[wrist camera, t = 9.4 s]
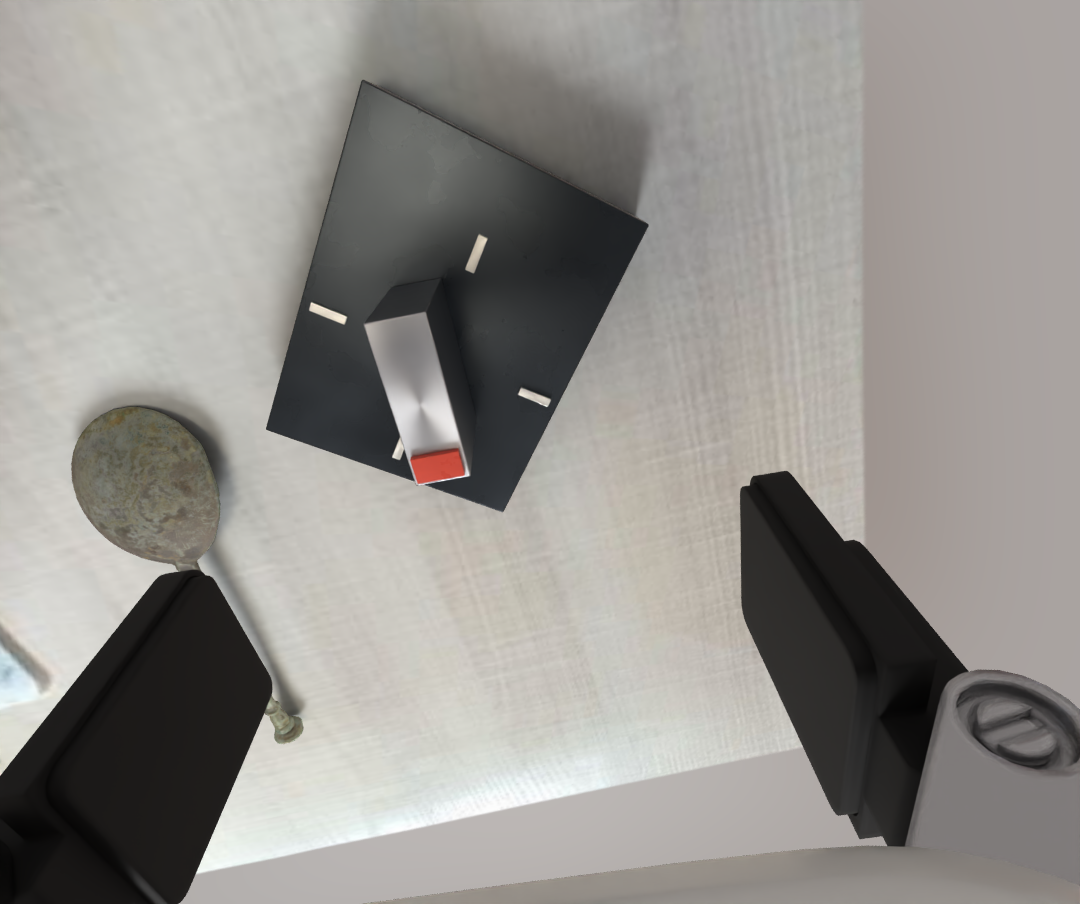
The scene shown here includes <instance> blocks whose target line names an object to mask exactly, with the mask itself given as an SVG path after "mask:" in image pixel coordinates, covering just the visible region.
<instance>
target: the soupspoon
mask: <svg viewBox="0 0 1080 904" xmlns="http://www.w3.org/2000/svg"><path fill="white" fill-rule="evenodd" d="M71 465H72V468H71V470H72V482H73V486H74V490H75V493H76V496H77V500H78V502H79V504H80V506H81V508H82V510H83V512H84V513H85V515H86V516H87V518H88V519H89V520H90V522H91V523H92V524H93V526H94V527H95V528H96V529H97V530H98V531H99V532H100V533H101V534H102V535H103V536H104V537H105V538H107V539H108V540H109V541H110V542H112V543H113V544H114V545H116V546H118V547H119V548H121V549H123V550H125V551H127V552H129V553H132V554H134V555H136V556H139V557H141V558H144V559H148V560H152V561H156V562H161V563H168V564H173V565H175V566H176V569H177V570H178V571H179V572H180V571H186V570H192V569H196V570H200V567H199V565H198V563H197V560H198V559H199V558H200V557H201V556H202V555H203V554H204V553H205V552H206V551H207V550H208V549H209V548H210V546H211V545H212V543H213V541H214V539H215V536H216V531H217V527H218V522H219V518H220V500H219V490H218V487H217V486H218V485H217V483H216V482H215V477H214V475H213V472H212V469H211V467H210V464H209V462H208V458H207V456H206V454H205V450H204V449H203V447H202V446H201V443H200V442H199V441H197V439H196V438H195V437H194V436H193V435H192V434H191V433H190V432H188V431H187V430H186V428H184V427H183V426H182V425H181V424H180V423H179V422H178V421H175V420H174V419H172V418H171V417H169V416H168V415H165V414H163V413H159V412H157V411H154V410H151V409H146V408H141V407H126V408H121V409H114V410H111V411H110V412H107V413H106V414H104V415H101V416H100V417H98V418H97V419H95V420H94V421H93V422H91V423H90V424H89V425H88V426H87V427H86V429H85V430H84V431H83V432H82V434H81V436H80V437H79V439H78V441H77V443H76V445H75V449H74V452H73V457H72V463H71ZM200 571H201V570H200ZM201 572H202V571H201ZM280 707H281V705H280V703H279V702H278V701H275V700H274V699H273V697H272V695H271V698H270V701H269V703H268V706H267V708H266V710H265V714H266V715H268V716H270V720H271V722H272V723H273V725H274V727H275V734H274V738H275V741H276V742H277V743H279V744H286V743H290V742H293V741H295V740H296V739H297V738H298V737H299V736H300V735H301V734H302V731H303V723H302V719H301V718H299V717H296V716H289V715H287V714H286V712H285V711H284V710H283V709H281V708H280Z"/></svg>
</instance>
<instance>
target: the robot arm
mask: <svg viewBox="0 0 1080 904" xmlns="http://www.w3.org/2000/svg"><path fill="white" fill-rule="evenodd" d="M740 517H741V599H742V610H743V615H744V619H745V622H746V624H747V627H748V629H749V631H750V633H751V635H752V638H753V640H754V642H755V644H756V646H757V648H758V650H759V653H760V655H761V657H762V659H763V661H764V663H765V666H766V668H767V670H768V672H769V674H770V676H771V679H772V681H773V683H774V685H775V687H776V689H777V691H778V694H779V696H780V698H781V700H782V702H783V704H784V707H785V709H786V711H787V713H788V715H789V717H790V720H791V722H792V724H793V726H794V728H795V730H796V732H797V735H798V737H799V739H800V741H801V743H802V745H803V748H804V750H805V752H806V754H807V756H808V758H809V761H810V762H811V765H812V767H813V769H814V771H815V774H816V775H817V778H818V780H819V782H820V784H821V786H822V789H823V791H824V793H825V795H826V797H827V799H828V802H829V804H830V805H831V807H832V809H833V811H834V812H835V813H836V814H837V815H838V816H839V815H846V814H848V816H849V818H850V820H851V822H852V824H853V826H854V829H855V831H856V833H857V835H858V837H859V839H864V838H872V837H879V836H883V838H884V840H885V842H886V844H887V846H855V847H838V848H819V849H802V850H792V851H783V852H774V853H765V854H756V855H746V856H737V857H729V858H720V859H709V860H700V861H691V862H682V863H673V864H666V865H658V866H651V867H643V868H634V869H626V870H619V871H611V872H604V873H595V874H587V875H579V876H571V877H564V878H556V879H548V880H540V881H532V882H524V883H516V884H509V885H501V886H493V887H485V888H478V889H471V890H463V891H455V892H448V893H440V894H432V895H425V896H417V897H410V898H403V899H395V900H387V901H380V902H373V903H365V904H1080V709H1079V708H1077V707H1076V706H1075V705H1074V704H1073V703H1072V702H1071V701H1070V700H1069V699H1067V698H1066V697H1064V696H1062V695H1061V694H1059V693H1058V692H1056V691H1054V690H1053V689H1051V688H1050V687H1048V686H1046V685H1044V684H1041V683H1039V682H1037V681H1034V680H1032V679H1029V678H1027V677H1025V676H1022V675H1018V674H1013V673H1009V672H1004V671H1000V670H975V671H970V672H969V671H968V670H967V669H966V668H965V667H964V666H963V664H962V663H961V662H960V661H959V659H958V658H957V657H956V656H955V655H954V653H952V651H951V650H950V649H949V647H948V646H947V645H946V644H945V643H944V641H943V640H942V639H941V638H940V636H938V634H937V633H936V632H935V630H934V629H933V628H932V627H931V626H930V624H929V623H928V622H927V621H926V620H925V618H924V617H923V616H922V615H921V614H920V612H919V611H918V610H917V609H916V608H915V606H914V605H913V604H912V603H911V602H910V600H909V599H908V598H907V597H906V596H905V594H904V593H903V592H902V591H901V590H900V588H899V587H898V586H897V585H896V584H895V582H894V581H893V580H892V579H891V577H890V576H889V575H888V574H887V573H886V572H885V570H884V569H883V568H882V567H881V565H880V564H879V563H878V562H877V561H876V559H875V558H874V557H873V556H872V555H871V553H870V552H869V551H868V550H867V549H866V548H865V547H864V546H863V545H862V544H861V543H860V542H858V541H855V540H850V541H844V540H843V539H842V538H841V537H840V535H839V534H838V533H837V531H836V530H835V529H834V528H833V526H832V525H831V524H830V523H829V521H828V520H827V519H826V518H825V516H824V515H823V514H822V512H821V511H820V510H819V509H818V507H817V506H816V505H815V504H814V502H813V501H812V500H811V499H810V497H809V496H808V495H807V494H806V492H805V491H804V490H803V488H802V487H801V486H800V485H799V483H798V482H797V481H796V480H795V478H794V477H793V476H792V475H791V474H790V473H789V472H788V471H782V472H776V473H770V474H764V475H758V476H753V477H752V478H751V481H750V486H744V487H742V488H741V491H740ZM271 695H272V680H271V677H270V675H269V673H268V672H267V670H266V668H265V666H264V665H263V663H262V661H261V659H260V658H259V656H258V654H257V653H256V651H255V649H254V647H253V646H252V644H251V642H250V640H249V639H248V637H247V635H246V634H245V632H244V630H243V628H242V627H241V625H240V623H239V621H238V620H237V618H236V616H235V614H234V613H233V611H232V609H231V608H230V606H229V604H228V602H227V601H226V599H225V597H224V595H223V594H222V592H221V590H220V589H219V587H218V585H217V583H216V582H215V580H214V579H213V578H212V577H210V576H206V575H205V574H204V573H203V572H201V571H200V570H196V569H192V570H186V571H180V572H174V573H168V574H164V575H161V576H159V577H158V578H157V579H156V580H155V581H154V582H153V584H152V585H151V586H150V587H149V589H148V590H147V591H146V592H145V594H144V595H143V596H142V598H141V599H140V600H139V601H138V603H137V604H136V605H135V606H134V608H133V609H132V610H131V611H130V613H129V614H128V615H127V616H126V618H125V619H124V620H123V622H122V623H121V624H120V625H119V627H118V628H117V629H116V630H115V632H114V633H113V634H112V635H111V637H110V638H109V639H108V640H107V642H106V643H105V644H104V646H103V647H102V648H101V649H100V651H99V652H98V653H97V654H96V656H95V657H94V658H93V659H92V661H91V662H90V663H89V664H88V666H87V667H86V668H85V670H84V671H83V672H82V673H81V675H80V676H79V677H78V678H77V680H76V681H75V682H74V683H73V685H72V686H71V687H70V688H69V690H68V691H67V692H66V694H65V695H64V696H63V697H62V699H61V700H60V701H59V702H58V704H57V705H56V706H55V707H54V709H53V710H52V711H51V712H50V714H49V715H48V716H47V718H46V719H45V720H44V721H43V723H42V724H41V725H40V726H39V728H38V729H37V730H36V731H35V733H34V734H33V735H32V736H31V738H30V739H29V740H28V742H27V743H26V744H25V745H24V747H23V748H22V749H21V750H20V752H19V753H18V754H17V755H16V757H15V758H14V759H13V760H12V762H11V763H10V764H9V766H8V767H7V768H6V769H5V771H4V772H3V773H2V774H1V776H0V904H178V903H180V902H181V901H182V900H183V899H184V897H185V896H186V894H187V892H188V890H189V888H190V886H191V883H192V881H193V879H194V876H195V874H196V872H197V869H198V867H199V865H200V862H201V860H202V858H203V855H204V853H205V851H206V848H207V846H208V844H209V841H210V839H211V837H212V834H213V832H214V830H215V827H216V825H217V823H218V820H219V818H220V816H221V813H222V811H223V809H224V806H225V804H226V802H227V799H228V797H229V795H230V792H231V790H232V787H233V785H234V783H235V780H236V778H237V776H238V773H239V771H240V769H241V766H242V764H243V762H244V759H245V757H246V755H247V752H248V750H249V748H250V745H251V743H252V741H253V738H254V736H255V734H256V731H257V729H258V727H259V724H260V722H261V720H262V717H263V715H264V713H265V710H266V708H267V706H268V703H269V701H270V698H271Z"/></svg>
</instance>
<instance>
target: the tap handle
mask: <svg viewBox="0 0 1080 904" xmlns="http://www.w3.org/2000/svg"><path fill="white" fill-rule="evenodd" d="M364 328H365V331H366V334H367V337H368V340H369V343H370V346H371V349H372V352H373V355H374V359H375V362H376V365H377V368H378V371H379V374H380V377H381V380H382V383H383V386H384V389H385V392H386V395H387V398H388V401H389V404H390V407H391V410H392V413H393V416H394V420H395V423H396V426H397V429H398V432H399V435H400V438H401V441H402V444H403V447H404V450H405V453H406V456H407V459H408V462H409V465H410V468H411V471H412V474H413V477H414V481H415V484H416V486H418V485H424V484H429V483H435V482H440V481H446V480H451V479H457V478H462V477H468V476H470V475H471V466H472V456H473V447H474V437H475V427H476V418H477V417H476V413H475V409H474V405H473V401H472V397H471V393H470V389H469V385H468V381H467V378H466V374H465V370H464V366H463V362H462V358H461V354H460V350H459V346H458V342H457V338H456V334H455V330H454V326H453V322H452V319H451V315H450V311H449V307H448V303H447V299H446V295H445V291H444V287H443V283H442V279H441V278H438V279H433V280H428V281H423V282H418V283H413V284H408V285H403V286H397V287H392V288H390V290H389V291H388V292H387V294H386V295H385V296H384V298H383V299H382V300H381V302H380V303H379V304H378V306H377V307H376V308H375V310H374V311H373V312H372V313H371V315H370V316H369V317H368V319H367V320H366V321H365V323H364Z"/></svg>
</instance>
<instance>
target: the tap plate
mask: <svg viewBox="0 0 1080 904" xmlns="http://www.w3.org/2000/svg"><path fill="white" fill-rule="evenodd" d="M647 228H648V224H647V223H646V222H644V221H642V220H641V219H639V218H637V217H636V216H634V215H632V214H630V213H628V212H626V211H624V210H622V209H620V208H618V207H616V206H614V205H612V204H610V203H608V202H606V201H604V200H602V199H600V198H598V197H596V196H594V195H592V194H590V193H589V192H587V191H585V190H583V189H581V188H579V187H577V186H575V185H573V184H571V183H569V182H567V181H565V180H563V179H561V178H559V177H557V176H555V175H553V174H551V173H549V172H547V171H545V170H543V169H541V168H539V167H537V166H535V165H533V164H531V163H529V162H527V161H525V160H523V159H521V158H519V157H517V156H516V155H514V154H512V153H510V152H508V151H506V150H504V149H502V148H500V147H498V146H496V145H494V144H492V143H490V142H488V141H486V140H484V139H482V138H480V137H478V136H476V135H474V134H472V133H470V132H468V131H466V130H464V129H462V128H460V127H458V126H456V125H454V124H452V123H450V122H448V121H446V120H444V119H442V118H441V117H439V116H437V115H435V114H433V113H431V112H429V111H427V110H425V109H423V108H421V107H419V106H417V105H415V104H413V103H411V102H409V101H407V100H405V99H403V98H401V97H399V96H397V95H395V94H393V93H391V92H389V91H387V90H385V89H383V88H381V87H379V86H377V85H375V84H372V83H370V82H367V81H365V80H362V81H361V85H360V89H359V92H358V96H357V99H356V103H355V107H354V110H353V114H352V118H351V121H350V125H349V129H348V132H347V136H346V139H345V143H344V147H343V150H342V154H341V158H340V161H339V165H338V169H337V172H336V176H335V179H334V183H333V187H332V190H331V194H330V198H329V201H328V205H327V209H326V212H325V216H324V219H323V223H322V227H321V230H320V234H319V238H318V241H317V245H316V249H315V252H314V256H313V260H312V263H311V267H310V270H309V274H308V278H307V281H306V285H305V289H304V292H303V296H302V300H301V303H300V307H299V310H298V314H297V318H296V321H295V325H294V329H293V332H292V336H291V340H290V343H289V347H288V350H287V354H286V358H285V361H284V365H283V369H282V372H281V376H280V380H279V383H278V387H277V390H276V394H275V398H274V401H273V405H272V409H271V412H270V416H269V420H268V423H267V427H266V430H269V431H271V432H274V433H277V434H280V435H283V436H286V437H289V438H291V439H294V440H297V441H300V442H303V443H306V444H309V445H312V446H314V447H317V448H320V449H323V450H326V451H329V452H332V453H334V454H337V455H340V456H343V457H346V458H349V459H352V460H354V461H357V462H360V463H363V464H366V465H369V466H372V467H375V468H377V469H380V470H383V471H386V472H389V473H392V474H395V475H397V476H400V477H403V478H406V479H409V480H412V481H414V477H413V474H412V471H411V468H410V465H409V462H408V459H407V456H406V453H405V450H404V447H403V444H402V441H401V438H400V435H399V432H398V429H397V426H396V423H395V420H394V416H393V413H392V410H391V407H390V404H389V401H388V398H387V395H386V392H385V389H384V386H383V383H382V380H381V377H380V374H379V371H378V368H377V365H376V362H375V359H374V355H373V352H372V349H371V346H370V343H369V340H368V337H367V334H366V331H365V328H364V323H365V321H366V320H367V319H368V317H369V316H370V315H371V313H372V312H373V311H374V310H375V308H376V307H377V306H378V304H379V303H380V302H381V300H382V299H383V298H384V296H385V295H386V294H387V292H388V291H389V290H390V288H392V287H397V286H403V285H408V284H413V283H418V282H423V281H428V280H433V279H438V278H441V279H442V283H443V287H444V291H445V295H446V299H447V303H448V307H449V311H450V315H451V319H452V322H453V326H454V330H455V334H456V338H457V342H458V346H459V350H460V354H461V358H462V362H463V366H464V370H465V374H466V378H467V381H468V385H469V389H470V393H471V397H472V401H473V405H474V409H475V413H476V417H477V418H476V427H475V437H474V447H473V456H472V466H471V475H470V476H468V477H462V478H457V479H451V480H446V481H440V482H435V483H429V484H424V485H426V486H429V487H432V488H435V489H438V490H440V491H443V492H446V493H449V494H452V495H455V496H458V497H460V498H463V499H466V500H469V501H472V502H475V503H478V504H481V505H483V506H486V507H489V508H492V509H495V510H498V511H501V512H503V511H504V510H505V508H506V506H507V504H508V502H509V500H510V498H511V496H512V494H513V492H514V490H515V488H516V486H517V484H518V482H519V480H520V478H521V476H522V474H523V472H524V470H525V468H526V466H527V464H528V462H529V460H530V458H531V456H532V454H533V452H534V450H535V449H536V447H537V445H538V443H539V441H540V439H541V437H542V435H543V433H544V431H545V429H546V427H547V425H548V423H549V421H550V419H551V417H552V415H553V413H554V411H555V409H556V407H557V405H558V403H559V401H560V399H561V397H562V395H563V393H564V391H565V389H566V387H567V385H568V383H569V381H570V380H571V378H572V376H573V374H574V372H575V370H576V368H577V366H578V364H579V362H580V360H581V358H582V356H583V354H584V352H585V350H586V348H587V346H588V344H589V342H590V340H591V338H592V336H593V334H594V332H595V330H596V328H597V326H598V324H599V322H600V320H601V318H602V316H603V314H604V313H605V311H606V309H607V307H608V305H609V303H610V301H611V299H612V297H613V295H614V293H615V291H616V289H617V287H618V285H619V283H620V281H621V279H622V277H623V275H624V273H625V271H626V269H627V267H628V265H629V263H630V261H631V259H632V257H633V255H634V253H635V251H636V249H637V247H638V245H639V244H640V242H641V240H642V238H643V236H644V234H645V232H646V230H647Z"/></svg>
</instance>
